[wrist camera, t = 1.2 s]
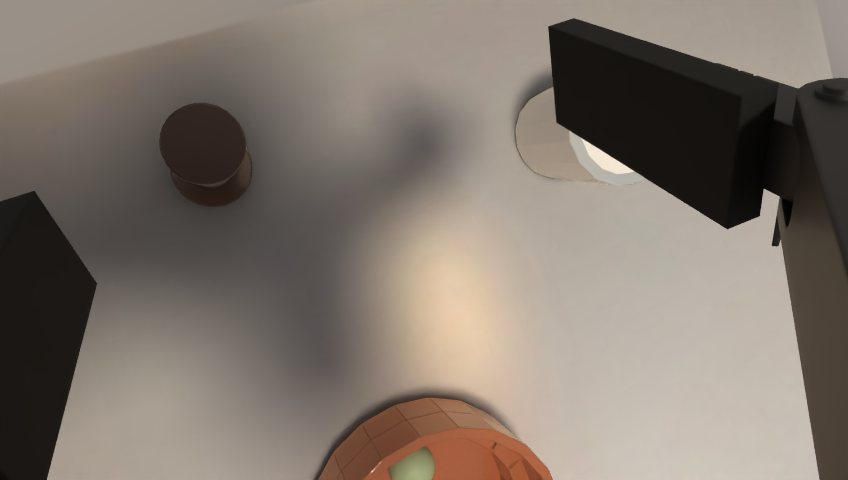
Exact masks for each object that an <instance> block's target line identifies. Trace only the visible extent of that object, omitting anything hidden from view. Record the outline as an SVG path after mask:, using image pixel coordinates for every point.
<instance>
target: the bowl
mask: <svg viewBox="0 0 848 480" xmlns="http://www.w3.org/2000/svg"><path fill="white" fill-rule="evenodd" d="M424 446H426V447H427V448H428V449H429V450H430V451H431V453H432V455H433V457H434V461H435V471H434V475H433V478H432V480H553V479H552V477H551V474H550V472H549V470H548V468H547V467H546V466H545V465H544V464H543V463H542V462H541V460H540V459H539V458H538V457H537V456H536V455H535V454H534V453H533V452H532V451H531V450H530V448H529V447H528V446H527V445H526V444H524V443H523V442H522V441H521V440H520V439H518V438H517V437H516V436H515V435H514V434H512V433H511V432H510V431H509V430H507V429H506V428H505V427H504V426H503V425H502V424H500V423H499V422H498V421H497V420H496V419H494V418H493V417H492V416H491V415H489V414H488V413H486V412H484V411H482V410H480V409H478V408H476V407H474V406H472V405H470V404H468V403H466V402H464V401H460V400H451V399H441V398H431V397H430V398H429V397H427V398H423V399H418V400H414V401H409V402H405V403H401V404H396V405H394V406H392V407H390V408H388V409H386V410H385V411H383V412H381V413H379V414H378V415H376V416H374V417H372V418H371V419H369V420H367V421H365V422H364V423H362V425H361V424H360V425H359V426H358V427H357V428H356V429H355V430H354V431H353V432H352V433H351V434H350V435H349V436H348V437H347V438H346V439H345V441H344V442H343V443H342V444H341V445H340V446H339V447H338V448H337V449H336V450H335V451H334V453H332V455H331V457H330V459H329V461H328V463H327V464H326V466H325V468H324V470H323V472H322V474H321V475H320V477H319V479H318V480H391V478H390V476H389V473H388V467H390V466H392V465H393V464H395V463H397V462H398V461H400V460H402V459H403V458H405V457H407V456H408V455H410V454H412V453H413V452H415V451H417V450H418V449H420V448H422V447H424Z"/></svg>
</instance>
